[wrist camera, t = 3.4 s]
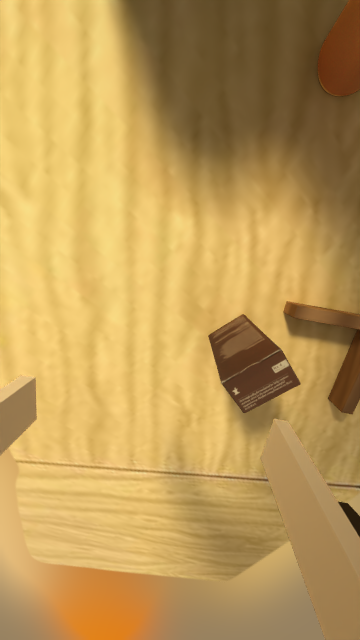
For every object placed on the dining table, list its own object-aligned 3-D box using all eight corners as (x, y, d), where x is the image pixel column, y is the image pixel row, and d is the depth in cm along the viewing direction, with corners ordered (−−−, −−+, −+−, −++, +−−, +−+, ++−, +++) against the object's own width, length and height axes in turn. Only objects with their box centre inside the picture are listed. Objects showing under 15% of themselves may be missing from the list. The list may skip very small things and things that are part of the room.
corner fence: (259, 385, 32) (266, 398, 29) (288, 295, 28) (299, 299, 25) (337, 400, 32) (352, 414, 29) (377, 311, 28) (398, 317, 25)
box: (223, 358, 31) (243, 416, 19) (207, 334, 30) (217, 380, 19) (260, 337, 30) (304, 386, 18) (244, 312, 29) (279, 345, 17)
